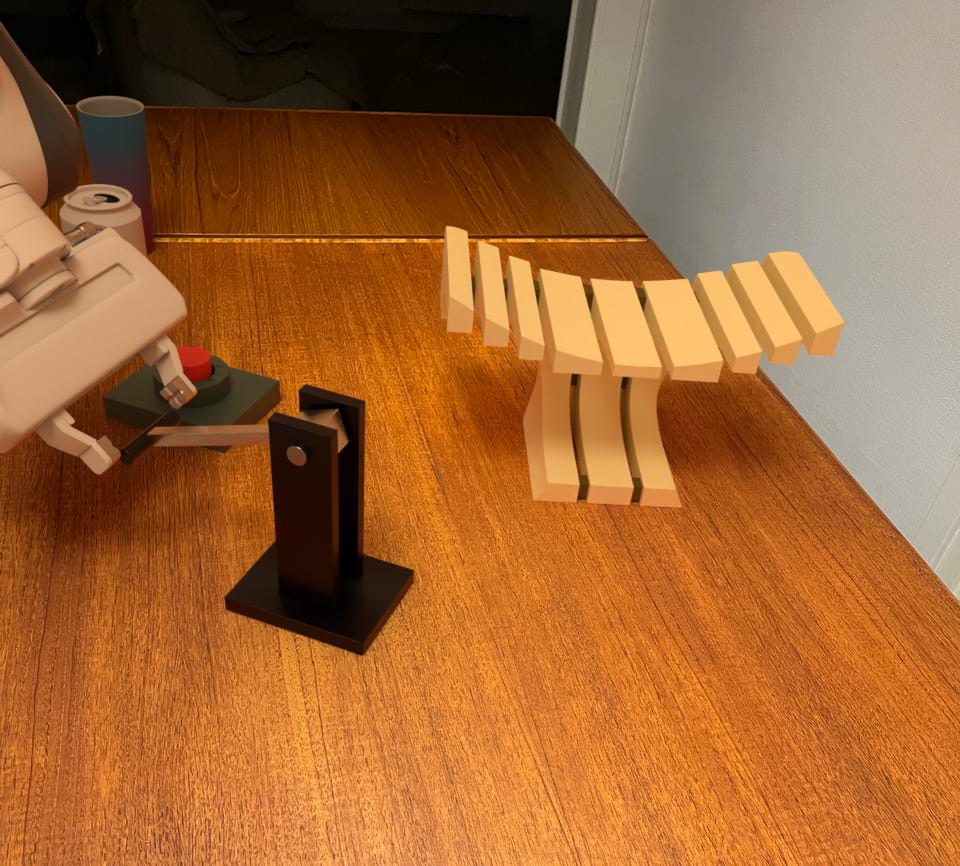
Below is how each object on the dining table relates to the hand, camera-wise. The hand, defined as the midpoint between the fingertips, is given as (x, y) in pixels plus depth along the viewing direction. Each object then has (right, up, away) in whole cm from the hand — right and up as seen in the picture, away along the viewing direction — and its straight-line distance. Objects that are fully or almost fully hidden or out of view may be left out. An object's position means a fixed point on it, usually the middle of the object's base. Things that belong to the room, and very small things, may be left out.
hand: (151, 432), depth 71 cm
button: (-2, +9, +18) cm, 20 cm away
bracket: (+12, -11, +4) cm, 17 cm away
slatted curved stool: (+34, +2, +22) cm, 40 cm away
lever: (+7, -2, -2) cm, 8 cm away
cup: (-17, +30, +44) cm, 56 cm away
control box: (-3, +6, +21) cm, 22 cm away
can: (-14, +19, +33) cm, 40 cm away
